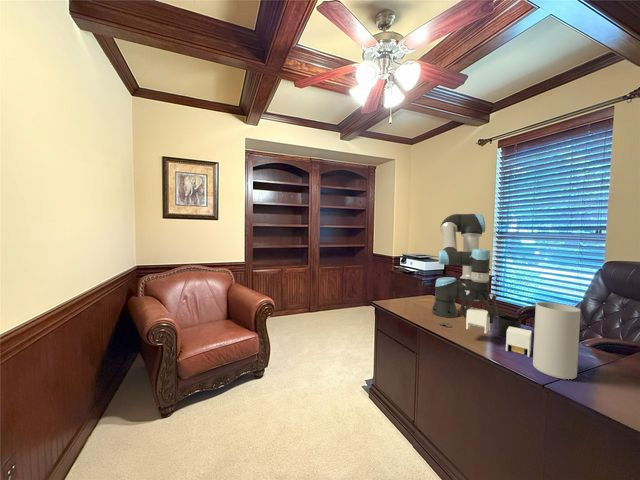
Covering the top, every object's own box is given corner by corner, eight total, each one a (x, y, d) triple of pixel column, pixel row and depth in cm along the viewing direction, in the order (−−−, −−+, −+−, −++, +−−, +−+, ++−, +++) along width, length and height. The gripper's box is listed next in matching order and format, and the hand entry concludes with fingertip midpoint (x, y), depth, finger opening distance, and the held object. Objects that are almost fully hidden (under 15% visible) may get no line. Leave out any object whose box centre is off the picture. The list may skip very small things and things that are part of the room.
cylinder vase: (524, 365, 104) (527, 303, 103) (546, 361, 107) (549, 301, 107) (562, 383, 92) (565, 312, 91) (585, 377, 96) (588, 310, 95)
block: (512, 347, 120) (513, 338, 120) (525, 351, 117) (525, 341, 117) (511, 351, 116) (511, 341, 116) (524, 354, 113) (524, 344, 113)
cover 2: (508, 345, 122) (509, 326, 122) (530, 350, 117) (531, 330, 116) (505, 350, 116) (506, 330, 116) (529, 357, 111) (530, 336, 110)
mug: (529, 338, 130) (529, 320, 130) (508, 340, 128) (509, 321, 128) (511, 331, 140) (512, 314, 139) (492, 332, 137) (493, 315, 137)
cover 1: (470, 324, 133) (471, 307, 132) (489, 329, 127) (490, 310, 127) (466, 328, 127) (466, 310, 126) (485, 333, 121) (486, 314, 121)
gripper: (453, 278, 131) (452, 323, 131) (504, 285, 116) (502, 335, 117) (458, 277, 136) (456, 320, 137) (507, 283, 122) (505, 331, 123)
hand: (477, 327), depth 127 cm, fingers closed on cover 1, 8 cm apart
